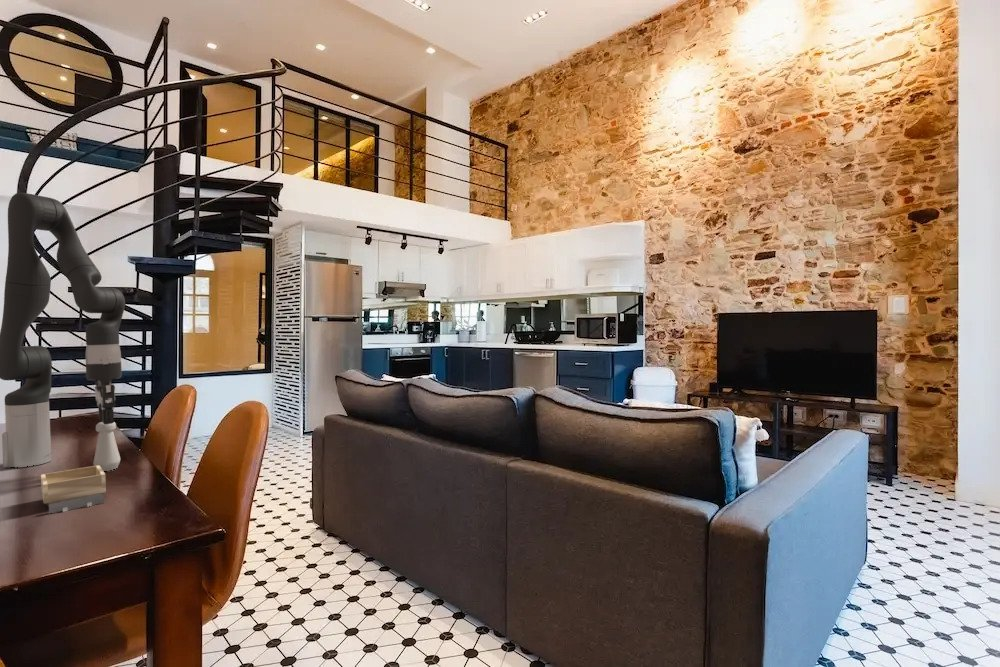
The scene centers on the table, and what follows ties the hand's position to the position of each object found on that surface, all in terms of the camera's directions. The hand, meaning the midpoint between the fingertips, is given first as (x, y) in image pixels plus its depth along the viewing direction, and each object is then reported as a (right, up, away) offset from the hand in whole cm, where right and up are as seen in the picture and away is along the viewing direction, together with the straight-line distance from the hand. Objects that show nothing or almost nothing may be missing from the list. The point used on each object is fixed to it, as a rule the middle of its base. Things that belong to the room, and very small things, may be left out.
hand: (106, 421), depth 138 cm
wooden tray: (+10, -14, -23) cm, 28 cm away
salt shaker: (0, -13, 0) cm, 13 cm away
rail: (+6, -14, -19) cm, 24 cm away
